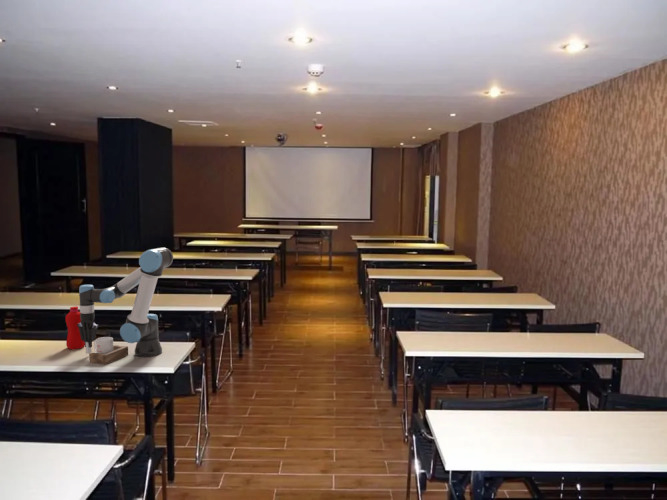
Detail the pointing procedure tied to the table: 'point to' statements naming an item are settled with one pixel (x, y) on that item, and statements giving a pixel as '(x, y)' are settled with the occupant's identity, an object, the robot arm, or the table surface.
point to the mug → (103, 345)
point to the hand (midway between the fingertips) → (88, 352)
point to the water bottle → (73, 329)
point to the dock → (109, 355)
